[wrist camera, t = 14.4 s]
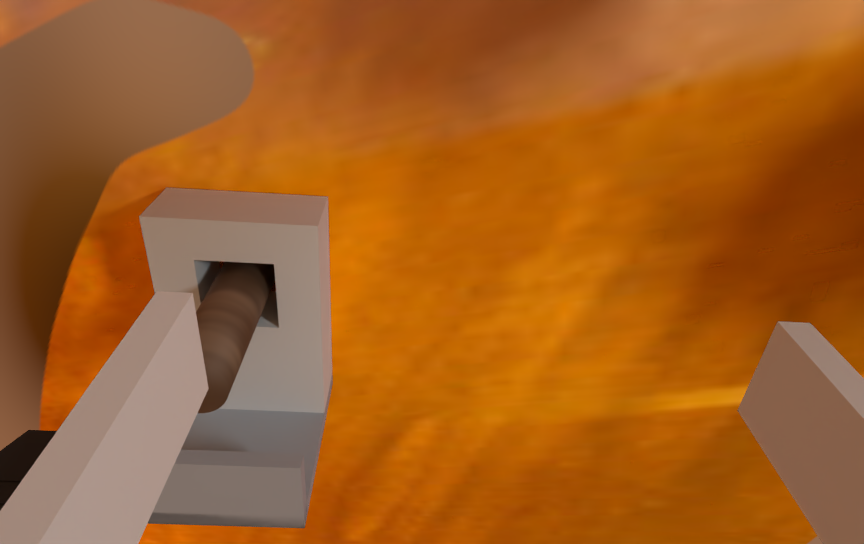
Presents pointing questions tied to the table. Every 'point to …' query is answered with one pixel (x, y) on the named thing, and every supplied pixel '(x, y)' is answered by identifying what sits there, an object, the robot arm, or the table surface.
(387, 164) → the table surface
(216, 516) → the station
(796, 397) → the robot arm
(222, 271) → the dowel
